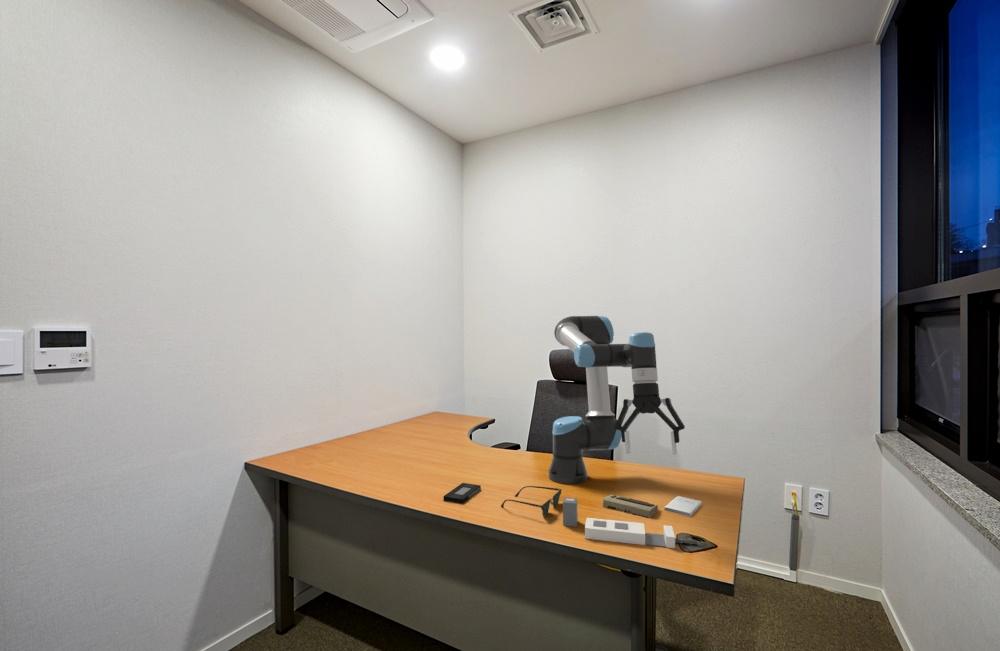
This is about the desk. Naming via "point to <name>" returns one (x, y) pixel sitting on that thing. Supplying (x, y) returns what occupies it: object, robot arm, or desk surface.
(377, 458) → the desk surface
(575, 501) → the charger
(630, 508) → the computer
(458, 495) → the vhs tape
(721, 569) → the desk surface
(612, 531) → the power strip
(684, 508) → the external hard drive
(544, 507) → the sunglasses
